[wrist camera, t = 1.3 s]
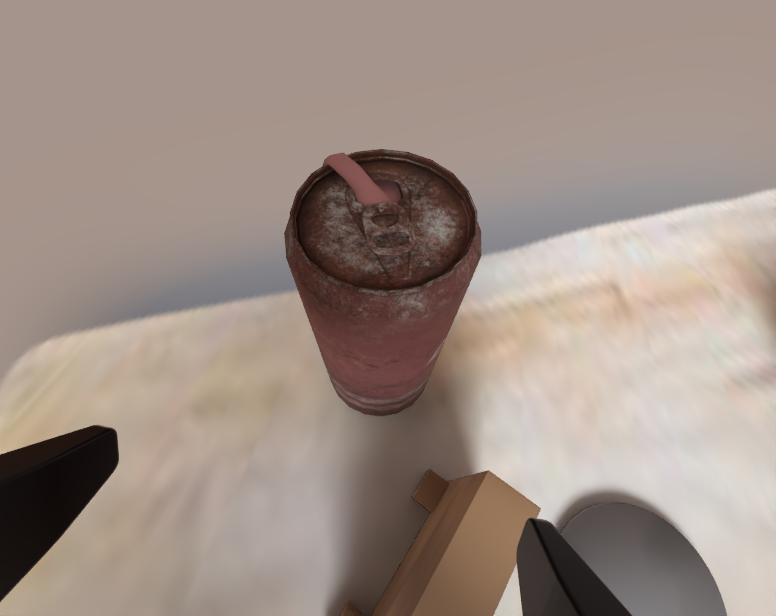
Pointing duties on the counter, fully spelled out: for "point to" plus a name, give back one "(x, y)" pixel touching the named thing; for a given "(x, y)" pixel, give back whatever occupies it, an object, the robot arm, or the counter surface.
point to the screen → (458, 549)
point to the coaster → (644, 561)
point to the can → (381, 270)
